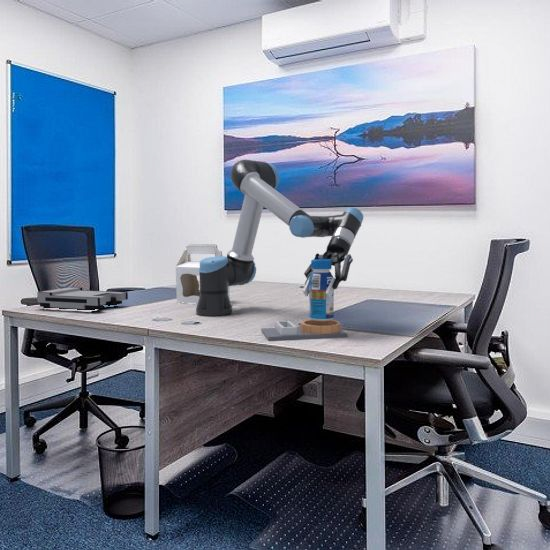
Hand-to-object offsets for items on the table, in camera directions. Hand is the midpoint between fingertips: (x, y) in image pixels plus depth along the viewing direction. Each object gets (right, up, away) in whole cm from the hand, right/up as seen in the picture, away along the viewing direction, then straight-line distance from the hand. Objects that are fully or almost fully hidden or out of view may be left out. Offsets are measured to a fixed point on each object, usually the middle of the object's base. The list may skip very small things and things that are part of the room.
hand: (316, 294), depth 167 cm
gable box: (-48, -7, +78) cm, 92 cm away
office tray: (-99, -9, +62) cm, 117 cm away
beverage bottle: (+2, -9, +4) cm, 10 cm away
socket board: (-4, -13, +3) cm, 14 cm away
